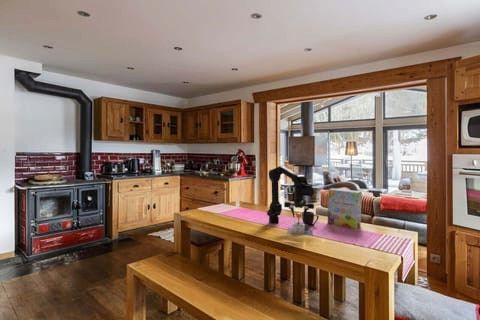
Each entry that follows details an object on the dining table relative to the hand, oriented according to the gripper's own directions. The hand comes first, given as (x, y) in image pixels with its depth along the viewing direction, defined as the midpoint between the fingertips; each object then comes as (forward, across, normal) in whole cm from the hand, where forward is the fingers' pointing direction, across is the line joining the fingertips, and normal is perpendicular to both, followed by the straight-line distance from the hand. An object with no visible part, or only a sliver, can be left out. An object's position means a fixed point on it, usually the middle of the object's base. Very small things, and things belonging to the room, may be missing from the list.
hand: (298, 218), depth 175 cm
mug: (+10, +8, +18) cm, 22 cm away
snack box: (+10, +32, +28) cm, 44 cm away
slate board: (+10, +1, 0) cm, 10 cm away
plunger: (+5, 0, 0) cm, 5 cm away
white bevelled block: (+9, +1, 0) cm, 9 cm away
